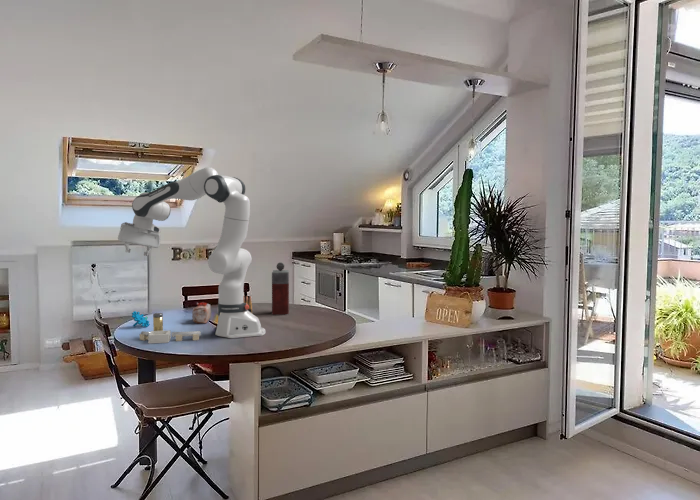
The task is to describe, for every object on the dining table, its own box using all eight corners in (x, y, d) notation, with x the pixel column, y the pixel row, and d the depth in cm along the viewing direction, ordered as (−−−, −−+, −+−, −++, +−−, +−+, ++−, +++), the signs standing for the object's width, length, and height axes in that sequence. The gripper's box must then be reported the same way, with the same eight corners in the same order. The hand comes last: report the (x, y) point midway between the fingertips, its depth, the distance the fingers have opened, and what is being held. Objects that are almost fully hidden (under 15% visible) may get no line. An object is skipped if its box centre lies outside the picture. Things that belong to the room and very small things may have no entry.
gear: (142, 326, 250) (129, 310, 252) (133, 334, 251) (121, 319, 252) (155, 324, 261) (142, 309, 263) (146, 332, 262) (134, 317, 263)
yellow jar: (163, 334, 241) (163, 312, 240) (162, 336, 237) (161, 314, 236) (154, 334, 240) (153, 313, 239) (152, 337, 236) (152, 314, 235)
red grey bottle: (289, 310, 300) (289, 261, 298) (288, 314, 289) (288, 263, 287) (273, 310, 299) (272, 261, 297) (272, 314, 288) (271, 263, 286)
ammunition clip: (252, 318, 279) (252, 295, 278) (251, 318, 277) (251, 296, 276) (232, 317, 279) (232, 295, 278) (231, 318, 277) (231, 295, 276)
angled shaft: (152, 338, 232) (152, 331, 232) (147, 340, 229) (147, 332, 228) (145, 338, 233) (145, 330, 233) (139, 340, 230) (139, 332, 230)
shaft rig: (201, 336, 236) (201, 329, 236) (200, 341, 228) (200, 333, 228) (151, 339, 232) (151, 331, 232) (148, 343, 224) (148, 335, 224)
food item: (208, 324, 264) (207, 304, 263) (191, 324, 263) (191, 304, 262) (212, 318, 277) (211, 299, 276) (196, 318, 276) (196, 300, 276)
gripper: (125, 221, 247) (119, 250, 245) (164, 230, 263) (159, 257, 261) (118, 221, 251) (112, 250, 249) (157, 229, 267) (152, 257, 265)
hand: (136, 254), depth 255 cm, fingers open, 8 cm apart
